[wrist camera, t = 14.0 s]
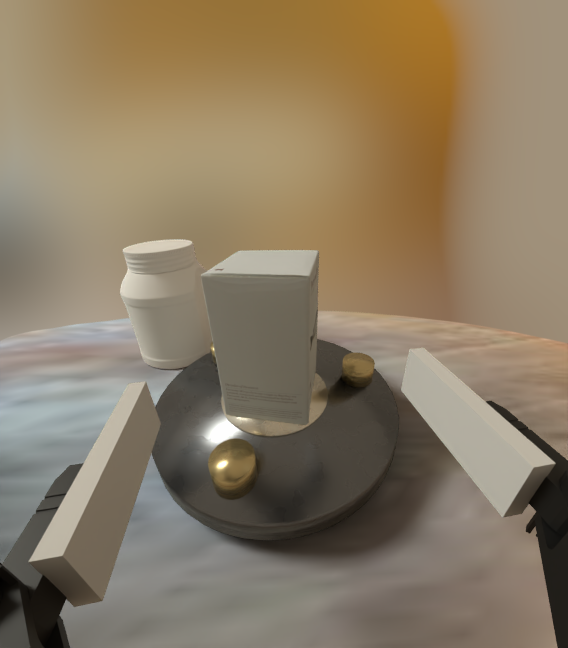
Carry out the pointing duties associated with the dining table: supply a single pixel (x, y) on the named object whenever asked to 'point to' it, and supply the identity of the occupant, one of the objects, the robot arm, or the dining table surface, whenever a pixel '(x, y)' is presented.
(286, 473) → the base
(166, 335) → the jar
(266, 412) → the supplement box
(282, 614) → the dining table surface
